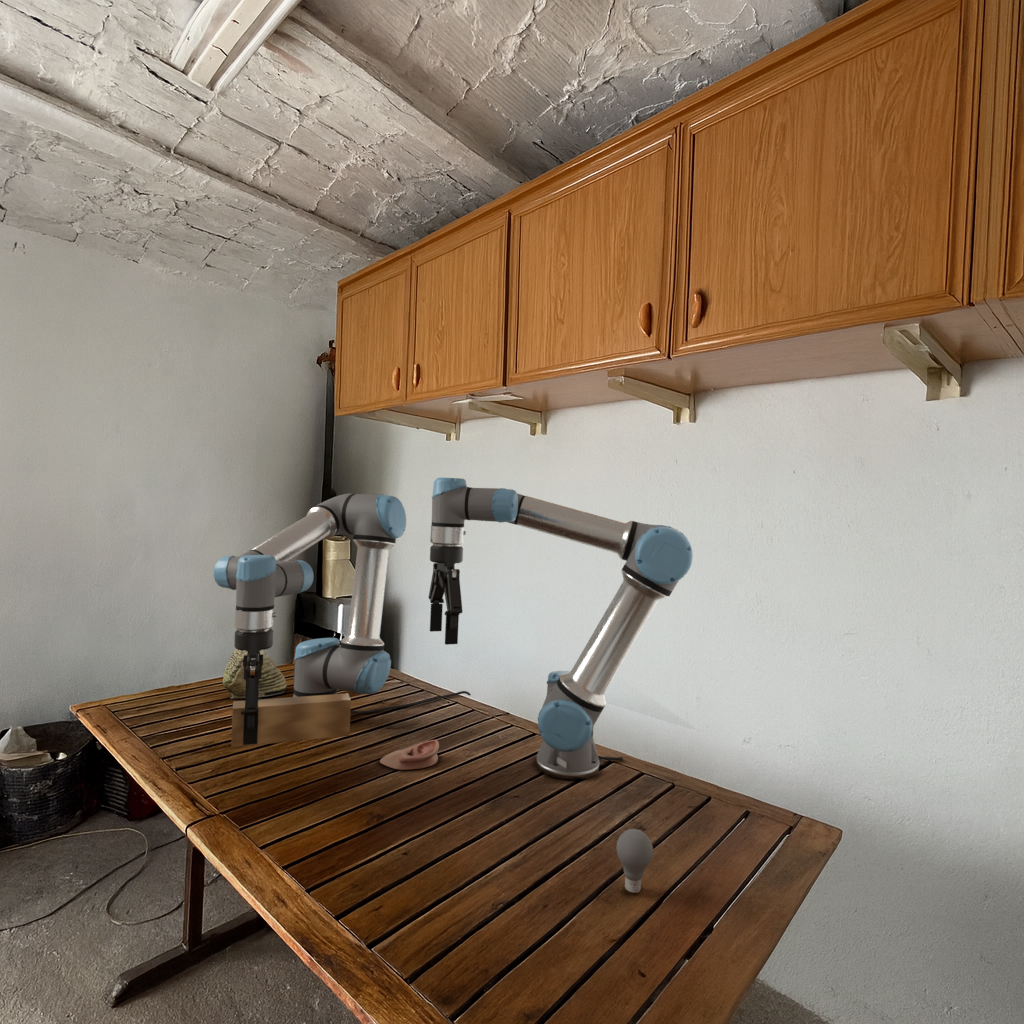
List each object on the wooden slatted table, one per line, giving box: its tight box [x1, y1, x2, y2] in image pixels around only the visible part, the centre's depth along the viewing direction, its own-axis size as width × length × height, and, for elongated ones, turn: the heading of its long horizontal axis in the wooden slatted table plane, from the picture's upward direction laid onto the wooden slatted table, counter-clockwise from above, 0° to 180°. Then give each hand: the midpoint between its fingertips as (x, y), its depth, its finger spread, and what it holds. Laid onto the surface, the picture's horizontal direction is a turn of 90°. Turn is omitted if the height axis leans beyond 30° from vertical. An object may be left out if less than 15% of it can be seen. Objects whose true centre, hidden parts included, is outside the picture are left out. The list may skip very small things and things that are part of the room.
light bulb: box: [615, 828, 654, 894], centre depth 106 cm, size 6×6×10 cm
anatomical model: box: [379, 739, 440, 771], centre depth 154 cm, size 13×4×12 cm
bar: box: [230, 692, 352, 748], centre depth 136 cm, size 24×5×8 cm, turn 111°
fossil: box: [222, 648, 288, 699], centre depth 198 cm, size 9×18×15 cm, turn 132°
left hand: (250, 738), depth 134 cm, fingers closed on bar, 5 cm apart
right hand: (443, 637), depth 145 cm, fingers open, 13 cm apart
